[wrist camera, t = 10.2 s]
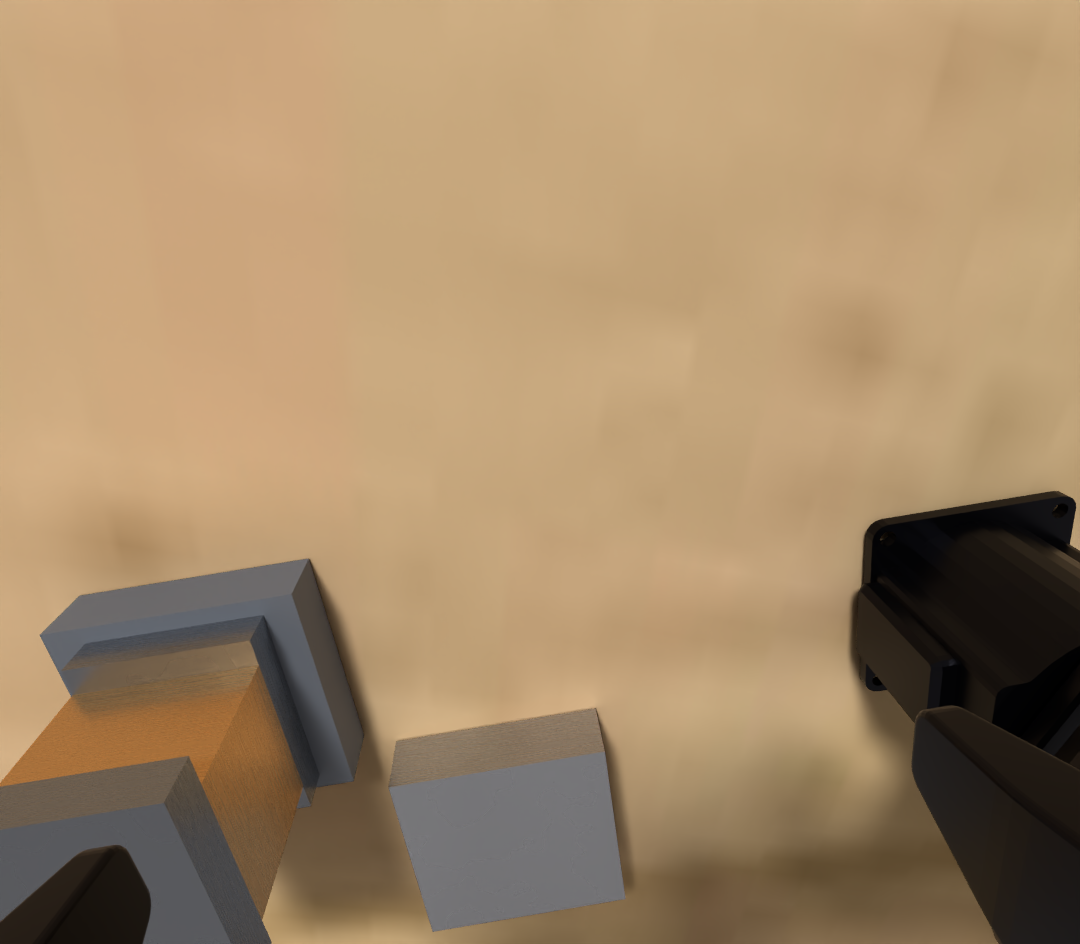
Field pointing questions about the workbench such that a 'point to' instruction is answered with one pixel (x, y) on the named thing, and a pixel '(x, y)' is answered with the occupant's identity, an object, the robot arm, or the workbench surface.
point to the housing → (167, 777)
